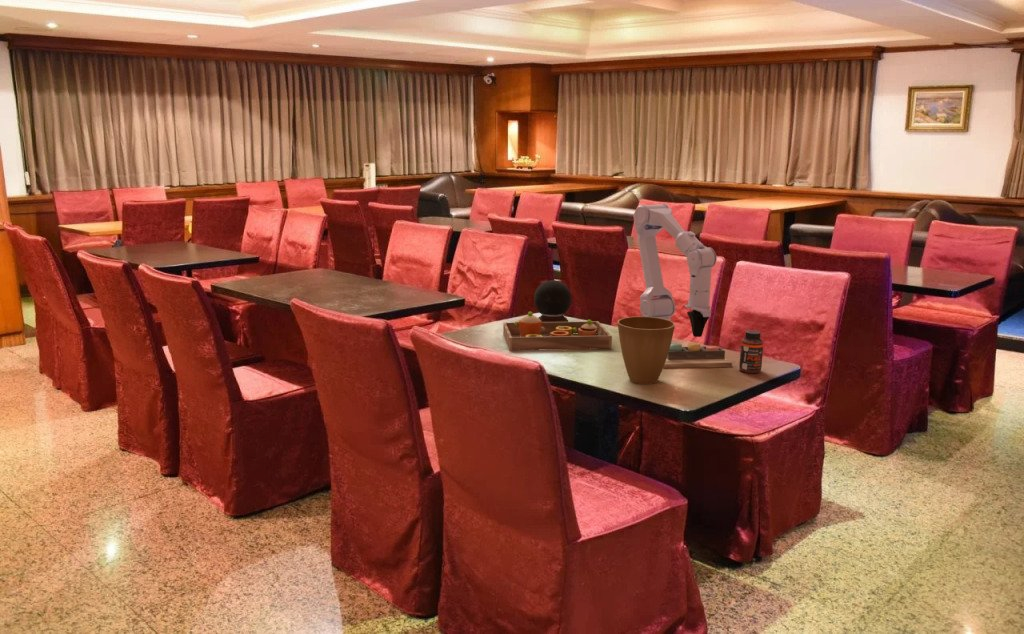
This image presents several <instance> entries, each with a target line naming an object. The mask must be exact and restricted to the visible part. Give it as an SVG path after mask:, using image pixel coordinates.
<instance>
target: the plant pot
mask: <svg viewBox="0 0 1024 634" xmlns="http://www.w3.org/2000/svg"><path fill="white" fill-rule="evenodd" d="M675 326H676V324H675V322H673V321H672V320H670V319H669V320H666V319H662V318H655V317H643V316H642V315H641V316H638V315H637V316H629V317H624V318H623V317H622V318H620V319H618V320H617V328H618V329H617V330H618V338H619V344H620V345H619V346H620V350H621V355H622V358H623V363H624V367H625V370H626V373H627V377H628V378H629V379H628V380H629V381H630V382H632V383H634V384H638V385H652V384H655V383H657V382H658V381H659V379H660V376H661V374H662V371H663V369H664V368H663V367H664V364H665V362H666V359H667V356H668V352H669V349H670V345H671V343H672V341H673V337H674V332H675Z"/></svg>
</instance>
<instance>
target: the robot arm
mask: <svg viewBox="0 0 1024 634" xmlns="http://www.w3.org/2000/svg"><path fill="white" fill-rule="evenodd" d="M632 216H633V221H634V227H635V233H636V238H637V243H638V249H639V250H638V251H639V255H640V260H641V266H642V273H643V279H644V283H645V288H646V289H645V290H644V292H643V293H642V294H641V295H640V296H639V299H640V305H639V311H640V314H641V316H643V317H655V318H662V319H666V320H669V321H670V320H672V316H674V314H675V312H676V302H675V300H674V298H673V296H672V292H671V291H670V290H669V289H668V288H667V287H665V286H664V280H663V274H662V269H661V263H660V258H659V252H658V247H657V246H658V245H657V240H656V236H657V234H658V233H659V232H661V231H662V230H663V229H664V230H665V231H666V232H667V233H668V234H669V235H670V236H672V237H673V238H674V240H675V243H674V244H675V246H676V247H677V249H678V250H679V251H680V252H681V253H682V254H683V255H684V257H686V263H687V266H688V272H689V275H690V278H689V279H690V280H689V296H688V297H689V298H688V300H687V304H684V308H685V309H689V310H690V311H687V312H686V313H687V316H688V319H689V320H690V326H691V330H692V331H691V332H692V335H693V337H694V338H702V335H703V333H704V330H705V326H706V324H707V322H708V320H709V319H710V318H711V317H712V316H711V315H712V310H711V305H710V301H711V300H710V298H711V284H712V283H711V281H712V269H713V268H714V267H715V265H716V263H717V259H718V258H717V253H716V251H715V250H714V249H713V248H712V247H707V246H705V245H704V243H702V242H701V241H700V240H699V239H698V238H697V237H696V236H695V233H694V232H693V231H688V230H687V231H685V230H684V229H683V227H682V226H681V225H680V223H679V222H678V220H677V219H676V218H675V217H674V216H673V209H672V208H670V207H669V205H668V204H666V203H660V204H659V203H658V204H639V205H638V206H637V207H636V209H635V211H634V213H633V215H632Z"/></svg>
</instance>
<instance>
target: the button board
mask: <svg viewBox="0 0 1024 634" xmlns="http://www.w3.org/2000/svg"><path fill="white" fill-rule="evenodd" d="M716 346H717V347H719V350H716V351H707V350H706V346H704V345H703V346H701V345H700V351H688V346H682V351H669V352H668V356H667V359H666V362H665V364H664V367H663V369H679V368H680V369H685V368H688V369H689V368H692V369H693V368H729V367H730V368H731V367H732V366H733V364H732V363H733V362H732V361H730V360H729V359H728V358H727V357H725V356H726V350H724V349H723V348H722V347H720V346H719V345H716ZM732 368H733V367H732Z"/></svg>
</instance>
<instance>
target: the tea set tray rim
mask: <svg viewBox="0 0 1024 634" xmlns="http://www.w3.org/2000/svg"><path fill="white" fill-rule="evenodd" d="M591 321H592V324H594V325H596V326H597V331H596V333H597V334H598V335H597V334H596V336H579V335H573V336H551V335H550V333H551V332H553V331H556V327H558V326H568V327H572V328H574V327H575V328H576V329H577V331H576V332H573V331H572V333H579V331H578V329H579V328H581V327H582V325H584V324H586V323H587V321H568V322H542V325H541V327H544V329H545V330H544V331H541V332H540V335H547V336H543V337H520V329H519V325H518V326H515V325H514V323H515V322H516V321H513V322H511V321H510V322H503V324H502V325H503V327H502V329H503V331H502V334H503V338H504V340H505V343H506V345H507V348H508V350H509V351H510V352H511V351H540V350H539V349H568V350H593V349H592V348H598V349H597V350H600V349H599V348H610V349H609V350H611V348H613V347H612V345H613V344H612V343H613V336H612V334H611V333H610V332H609V331H608V330H607V329H606V328H605V327H604V326H603V325H602V324H601V323H600V322H599V320H597V321H596V320H594V321H593V320H591ZM515 335H516V336H515ZM590 348H591V349H590Z"/></svg>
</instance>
